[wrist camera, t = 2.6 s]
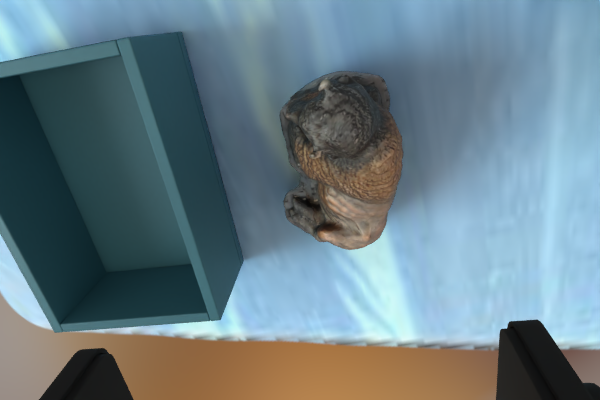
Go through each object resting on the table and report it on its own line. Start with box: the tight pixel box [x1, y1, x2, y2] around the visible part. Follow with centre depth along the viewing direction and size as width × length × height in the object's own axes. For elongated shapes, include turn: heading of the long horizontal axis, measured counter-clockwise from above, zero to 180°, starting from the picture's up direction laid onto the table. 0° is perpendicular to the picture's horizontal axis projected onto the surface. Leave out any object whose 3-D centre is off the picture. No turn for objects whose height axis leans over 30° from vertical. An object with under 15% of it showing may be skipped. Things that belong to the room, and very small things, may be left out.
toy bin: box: [0, 32, 244, 332], centre depth 26 cm, size 12×17×7 cm
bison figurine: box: [280, 71, 403, 250], centre depth 22 cm, size 12×7×10 cm, turn 5°
